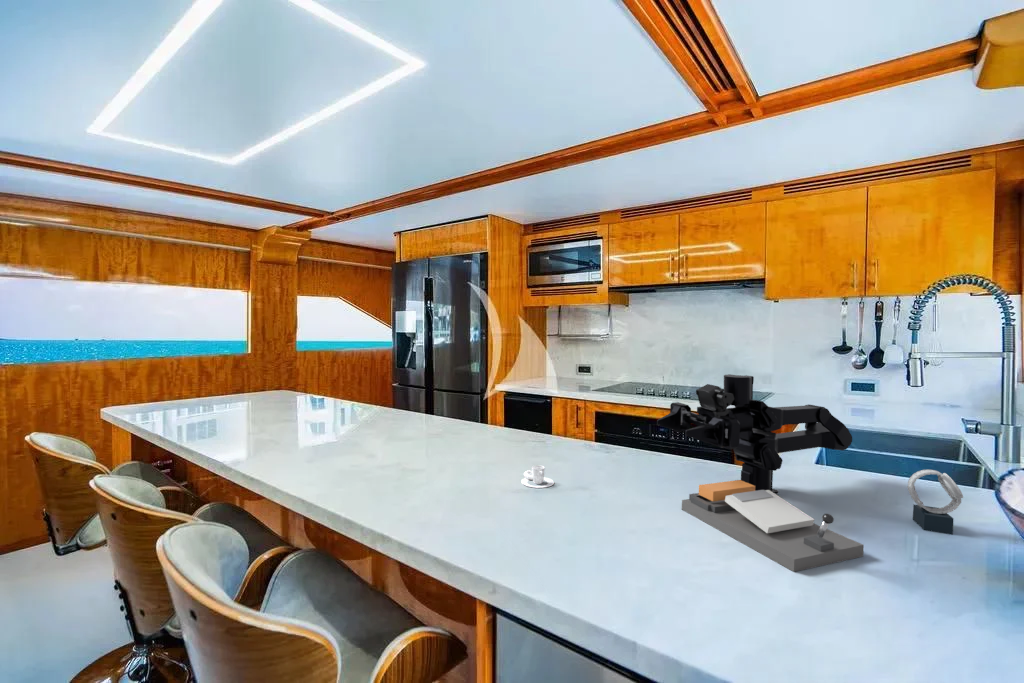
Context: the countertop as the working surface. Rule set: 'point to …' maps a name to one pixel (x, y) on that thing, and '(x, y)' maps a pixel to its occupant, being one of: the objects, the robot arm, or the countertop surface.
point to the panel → (775, 536)
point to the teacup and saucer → (536, 477)
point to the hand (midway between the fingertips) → (671, 427)
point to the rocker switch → (768, 511)
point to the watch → (934, 516)
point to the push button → (724, 489)
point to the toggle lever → (825, 524)
